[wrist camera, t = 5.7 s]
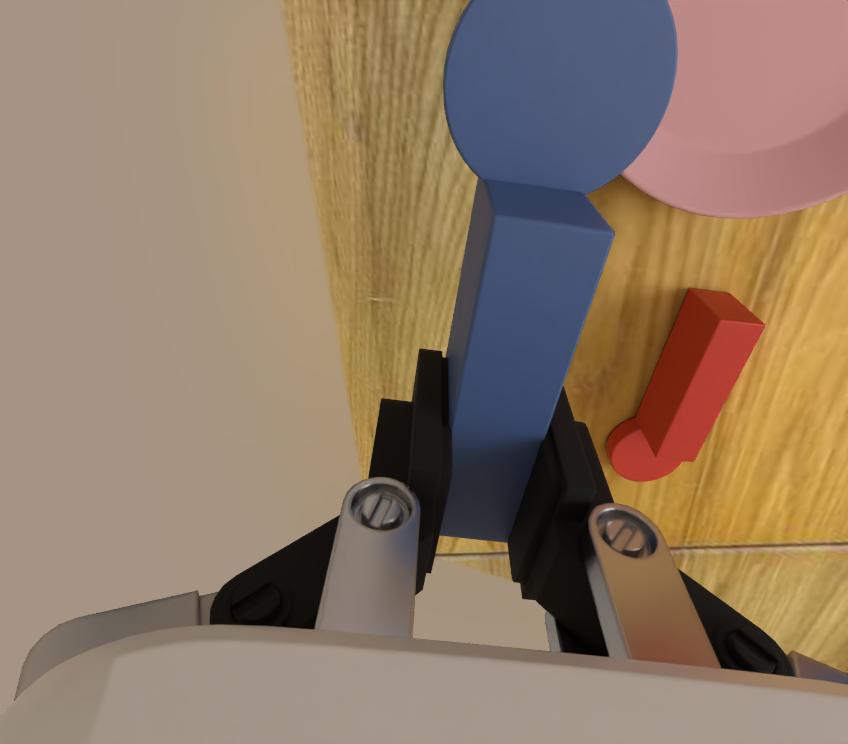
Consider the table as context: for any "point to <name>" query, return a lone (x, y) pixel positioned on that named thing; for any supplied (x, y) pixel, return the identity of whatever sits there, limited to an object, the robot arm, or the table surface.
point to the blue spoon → (536, 216)
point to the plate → (752, 109)
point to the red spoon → (686, 386)
